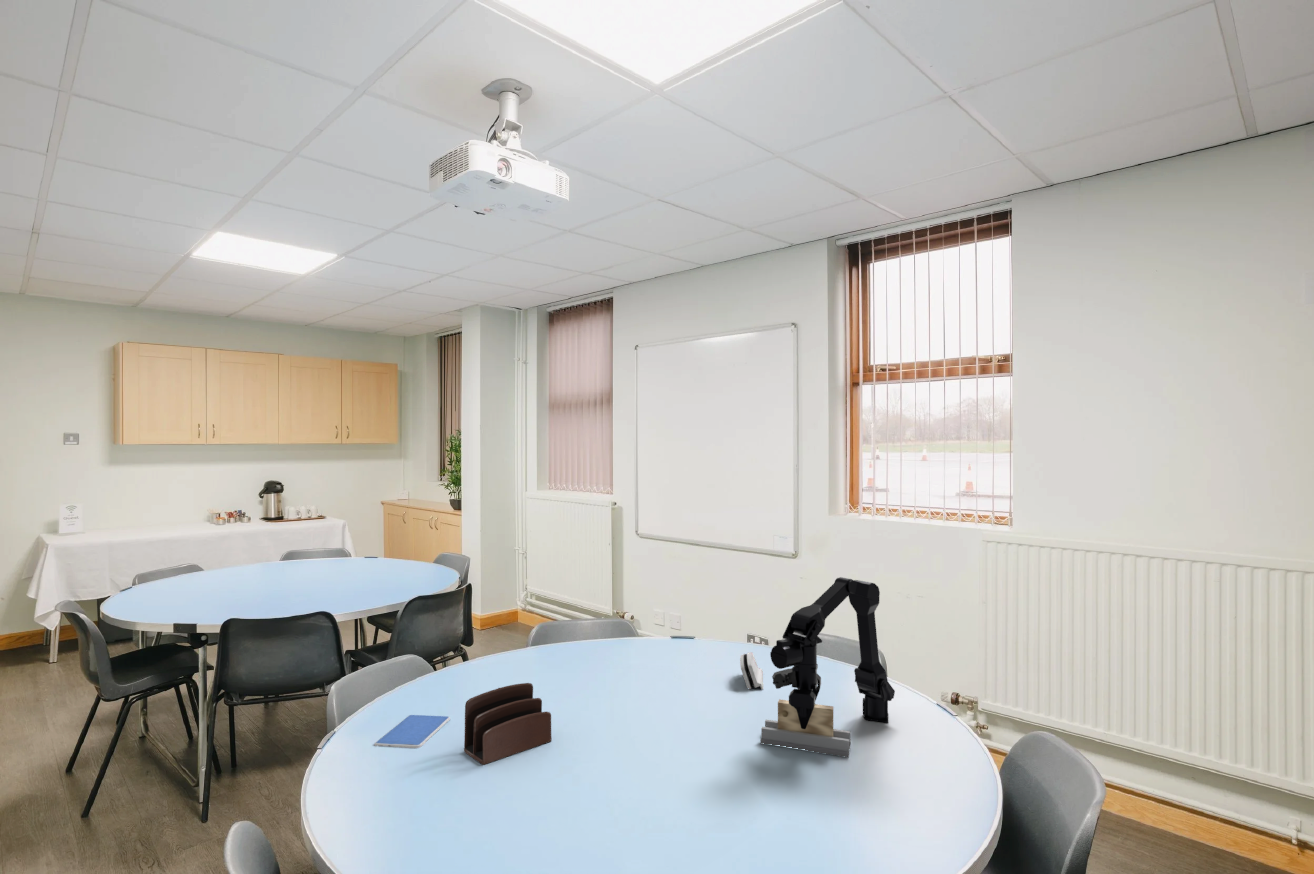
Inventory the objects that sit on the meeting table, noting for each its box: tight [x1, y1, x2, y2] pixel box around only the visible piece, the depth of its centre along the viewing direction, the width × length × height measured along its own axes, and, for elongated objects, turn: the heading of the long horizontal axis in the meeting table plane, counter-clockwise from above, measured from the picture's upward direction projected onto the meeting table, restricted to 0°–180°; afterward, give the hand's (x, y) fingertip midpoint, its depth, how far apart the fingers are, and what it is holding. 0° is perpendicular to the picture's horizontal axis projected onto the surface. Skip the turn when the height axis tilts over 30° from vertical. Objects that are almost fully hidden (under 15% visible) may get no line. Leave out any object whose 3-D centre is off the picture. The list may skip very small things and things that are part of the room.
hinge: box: [739, 651, 764, 690], centre depth 219 cm, size 17×5×10 cm, turn 170°
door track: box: [760, 719, 852, 758], centre depth 170 cm, size 22×9×4 cm, turn 70°
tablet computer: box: [374, 714, 451, 749], centre depth 176 cm, size 19×13×1 cm, turn 174°
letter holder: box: [463, 682, 552, 766], centre depth 167 cm, size 10×20×14 cm, turn 134°
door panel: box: [777, 698, 834, 737], centre depth 170 cm, size 14×3×9 cm, turn 70°
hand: (805, 721), depth 170 cm, fingers open, 9 cm apart
